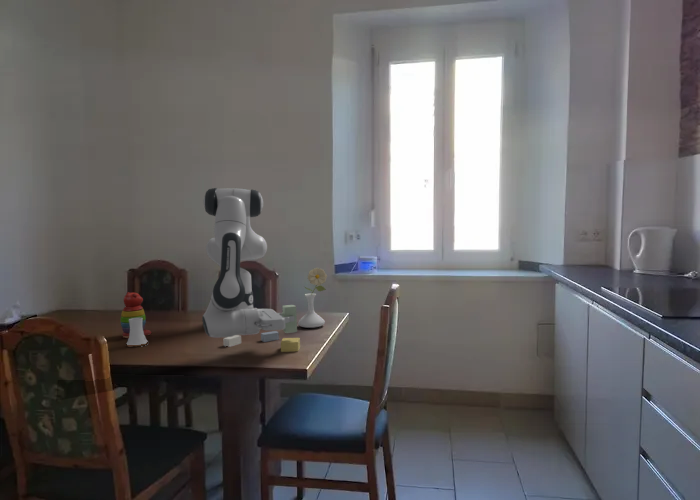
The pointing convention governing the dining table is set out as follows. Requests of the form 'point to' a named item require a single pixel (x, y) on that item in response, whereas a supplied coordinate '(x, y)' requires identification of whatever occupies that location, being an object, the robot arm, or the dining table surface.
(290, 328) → the green brick
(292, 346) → the mustard brick
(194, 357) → the dining table surface
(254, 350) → the dining table surface
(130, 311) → the stacking bear
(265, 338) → the slate brick
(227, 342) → the cream brick
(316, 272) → the flower in vase
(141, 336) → the vase
